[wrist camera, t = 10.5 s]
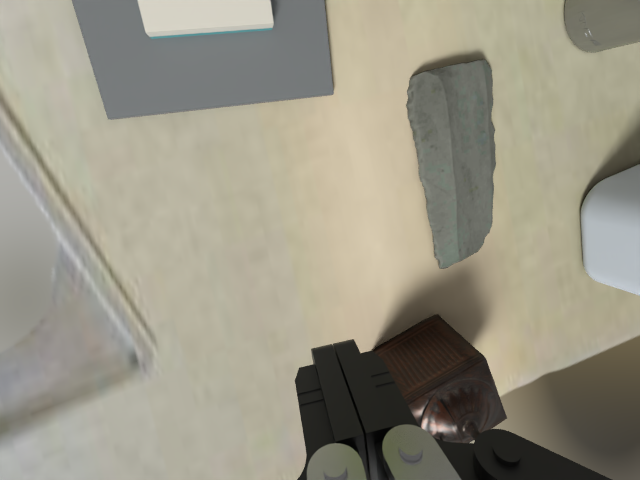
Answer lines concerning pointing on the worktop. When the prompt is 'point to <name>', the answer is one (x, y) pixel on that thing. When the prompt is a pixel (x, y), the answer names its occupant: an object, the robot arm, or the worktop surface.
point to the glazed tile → (204, 17)
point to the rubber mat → (204, 60)
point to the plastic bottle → (613, 231)
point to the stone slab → (455, 154)
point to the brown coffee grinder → (443, 381)
